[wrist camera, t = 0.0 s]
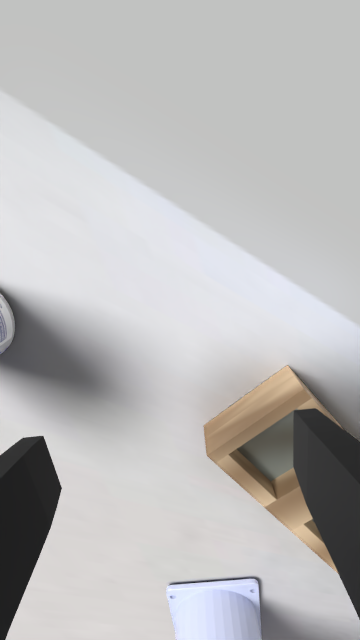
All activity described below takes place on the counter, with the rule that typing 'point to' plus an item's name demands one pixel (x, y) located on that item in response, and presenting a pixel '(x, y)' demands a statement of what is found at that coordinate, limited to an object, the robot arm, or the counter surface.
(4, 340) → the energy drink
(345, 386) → the counter surface
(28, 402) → the counter surface
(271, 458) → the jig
